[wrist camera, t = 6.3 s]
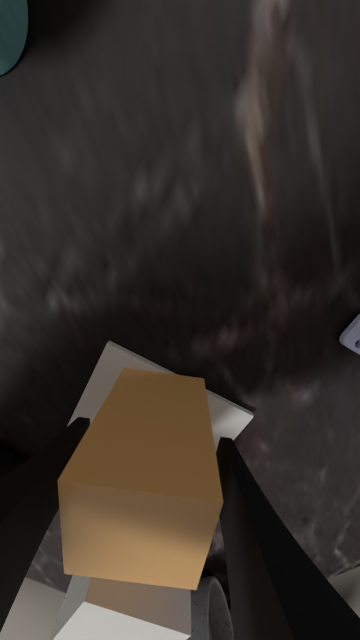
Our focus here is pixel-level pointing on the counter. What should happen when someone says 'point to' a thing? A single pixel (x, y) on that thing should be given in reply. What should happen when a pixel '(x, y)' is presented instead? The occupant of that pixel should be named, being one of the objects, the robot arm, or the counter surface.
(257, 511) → the robot arm
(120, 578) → the tan wooden block
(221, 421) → the light grey flat slab
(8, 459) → the cola bottle
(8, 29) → the cupcake
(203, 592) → the ceramic mug
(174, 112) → the counter surface
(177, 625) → the white block
